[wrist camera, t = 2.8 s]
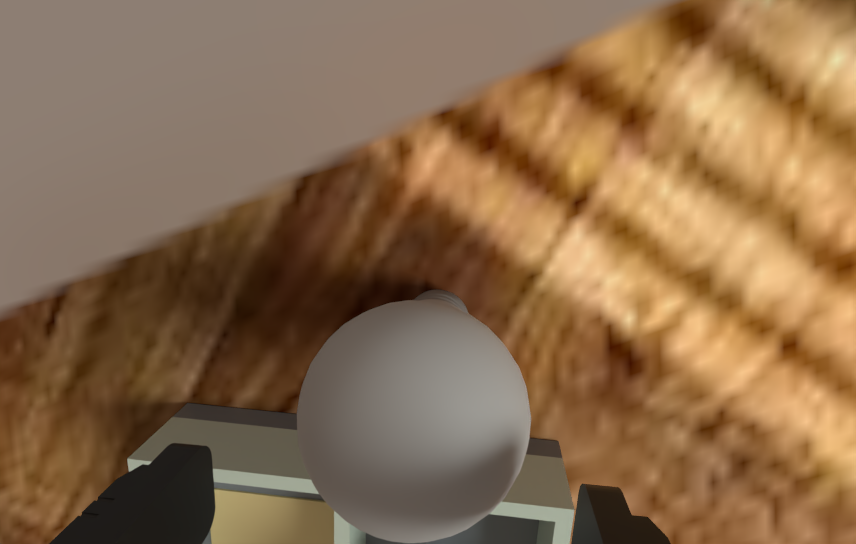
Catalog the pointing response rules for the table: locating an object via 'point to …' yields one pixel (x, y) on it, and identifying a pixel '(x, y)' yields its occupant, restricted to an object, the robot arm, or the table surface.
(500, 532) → the tray
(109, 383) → the table surface
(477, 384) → the lightbulb
